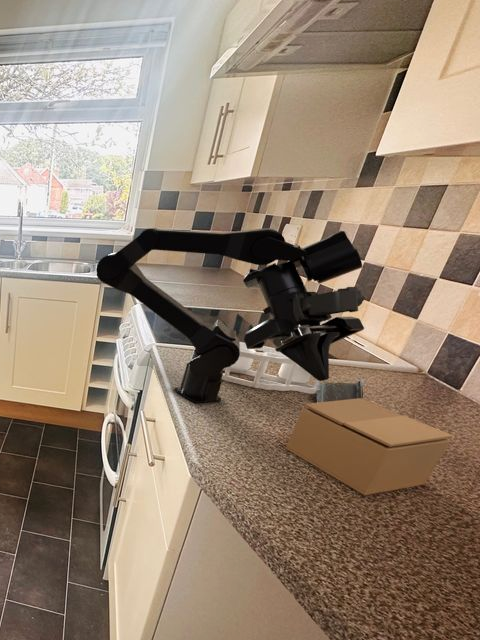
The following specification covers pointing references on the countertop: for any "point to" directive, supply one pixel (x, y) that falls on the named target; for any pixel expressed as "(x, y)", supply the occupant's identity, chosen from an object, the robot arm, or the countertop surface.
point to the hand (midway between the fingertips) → (324, 380)
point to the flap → (350, 410)
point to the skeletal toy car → (287, 373)
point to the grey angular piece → (339, 391)
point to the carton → (369, 450)
